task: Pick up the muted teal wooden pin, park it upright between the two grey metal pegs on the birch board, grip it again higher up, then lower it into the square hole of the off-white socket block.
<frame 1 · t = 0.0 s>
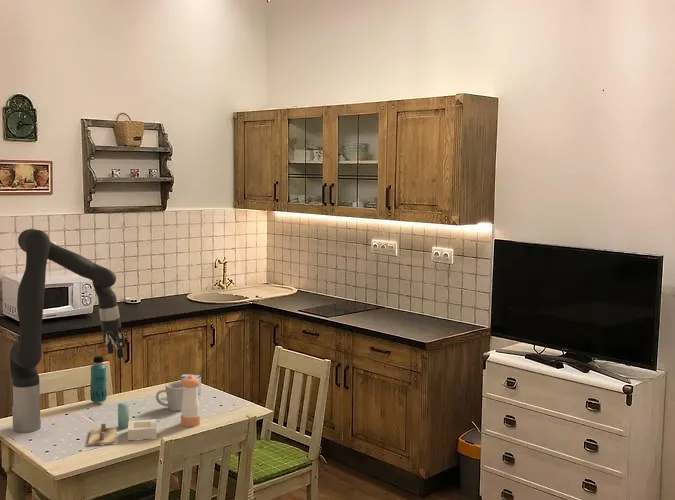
hand: (115, 355, 302), 22 cm above the table, tool pointing down, fingers open, 8 cm apart
pepper shaker: (190, 424, 289), on the table
socket block: (142, 435, 276), on the table
pin: (123, 427, 284), on the table
beverage bottle: (98, 403, 311), on the table
mug: (173, 409, 306), on the table
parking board: (102, 437, 273), on the table
medicine box: (190, 395, 325), on the table
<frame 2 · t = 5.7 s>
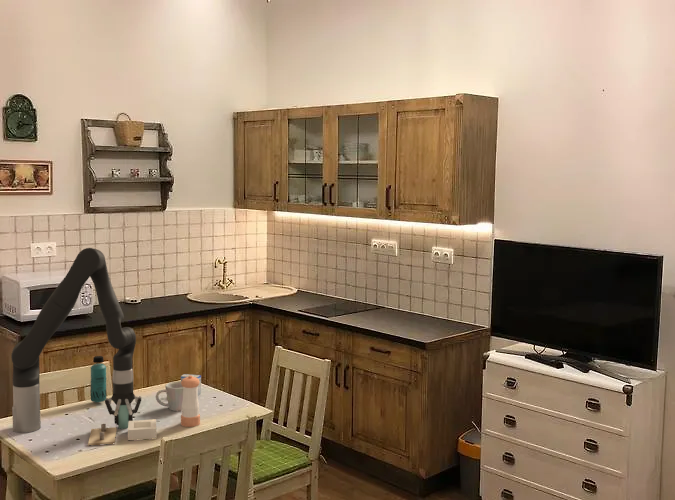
hand: (123, 423, 284), 1 cm above the table, tool pointing down, fingers closed on pin, 4 cm apart
pin: (123, 427, 284), on the table, touching gripper
everything else where it was.
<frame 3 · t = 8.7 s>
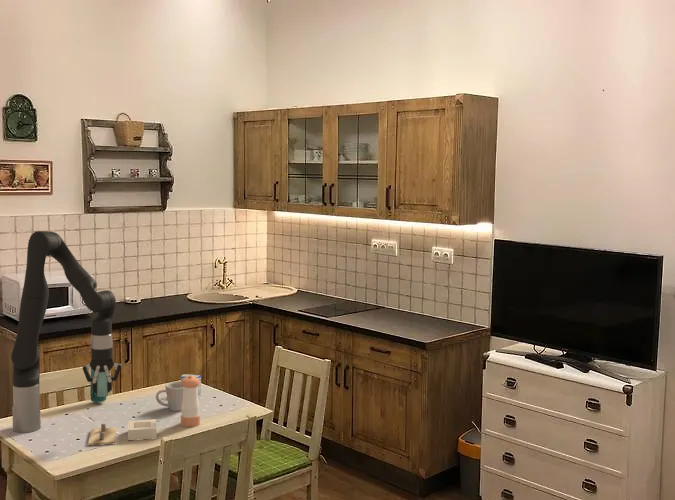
hand: (102, 391, 271), 17 cm above the table, tool pointing down, fingers closed on pin, 4 cm apart
pin: (102, 395, 271), point 16 cm above the table, touching gripper
everything else where it was.
when the fingers open (4 cm above the table, at t = 11.6 s): pin drops 1 cm, resting on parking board.
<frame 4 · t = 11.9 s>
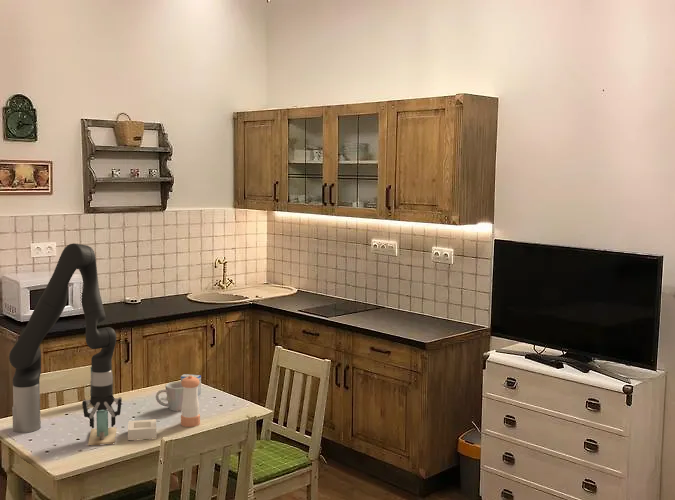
hand: (102, 426, 272), 4 cm above the table, tool pointing down, fingers open, 6 cm apart
pin: (102, 435, 273), point 1 cm above the table, touching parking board
everything else where it was.
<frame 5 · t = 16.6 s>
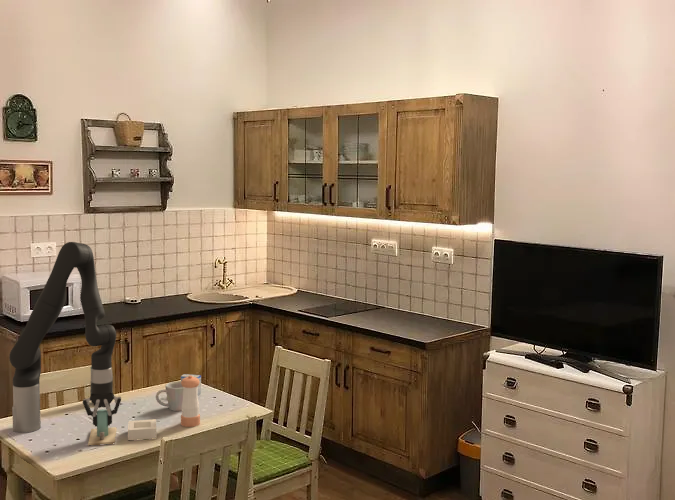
hand: (102, 425, 272), 5 cm above the table, tool pointing down, fingers closed on pin, 4 cm apart
pin: (102, 435, 273), point 1 cm above the table, touching gripper, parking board
everything else where it was.
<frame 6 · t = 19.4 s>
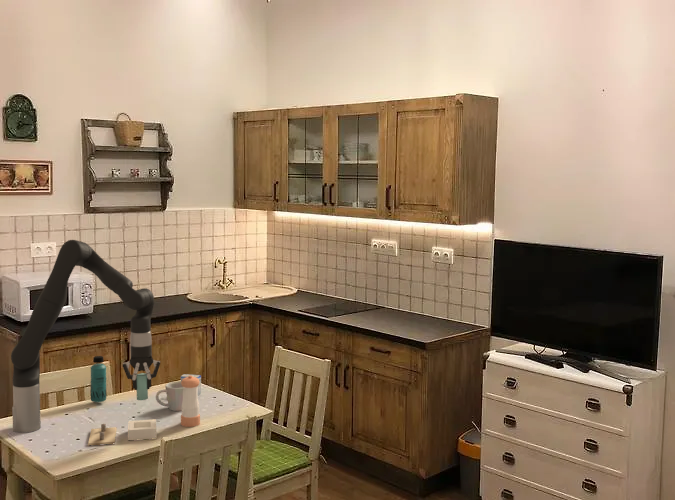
hand: (142, 388, 274), 18 cm above the table, tool pointing down, fingers closed on pin, 4 cm apart
pin: (142, 398, 275), point 14 cm above the table, touching gripper
everything else where it was.
when the fingers open (6 cm above the table, at t = 22.5 s): pin drops 1 cm, resting on socket block.
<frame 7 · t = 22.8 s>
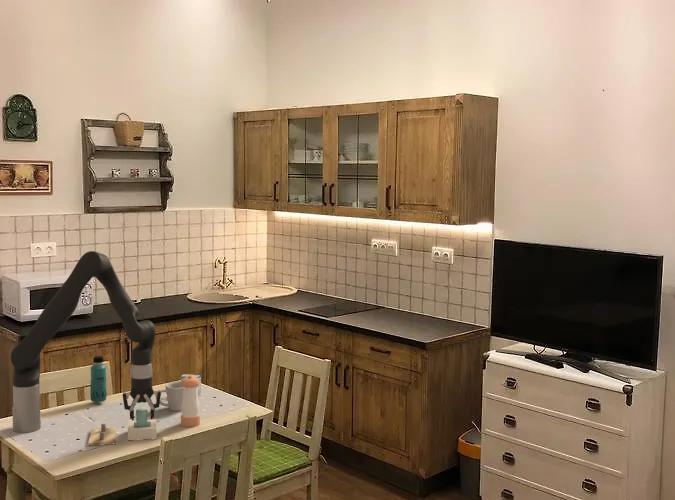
hand: (142, 419, 275), 6 cm above the table, tool pointing down, fingers open, 6 cm apart
pin: (142, 433, 276), point 1 cm above the table, touching socket block
everything else where it was.
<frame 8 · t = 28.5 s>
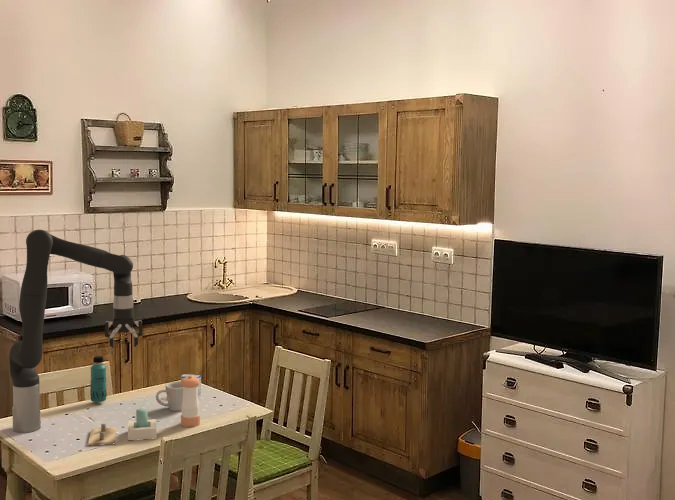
hand: (123, 346, 293), 28 cm above the table, tool pointing down, fingers open, 8 cm apart
nothing on the table moved.
at the end: pin 0.1 cm off-centre on the socket block, point 0.5 cm above the socket block's base; pin tilted 0°; the gripper is holding nothing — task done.
